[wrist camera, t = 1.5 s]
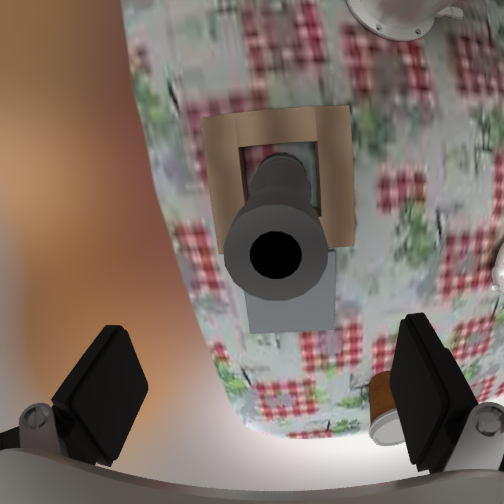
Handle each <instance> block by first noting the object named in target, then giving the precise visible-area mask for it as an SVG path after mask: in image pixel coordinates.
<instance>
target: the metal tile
mask: <svg viewBox="0 0 504 504" xmlns="http://www.w3.org/2000/svg"><path fill="white" fill-rule="evenodd" d="M244 292H245V291H244ZM245 299H246V306H247V314H248V321H249V328H250V334H252V333H282V332H303V331H320V330H334V317H335V249H334V250H328V264H327V267H326V269H325V271H324V273H323V275H322V277H321V279H320V281H319V282H318V283H317V284H316V285H315V286H314V287H312V288H311V289H310V290H309V291H308V292H306V293H305V294H304V295H301V296H298V297H295V298H293V299H290V300H287V301H266V300H263V299H261V298H258V297H255V296H252V295H250V294H248V293H247V292H245Z"/></svg>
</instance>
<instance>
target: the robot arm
mask: <svg viewBox="0 0 504 504" xmlns="http://www.w3.org/2000/svg"><path fill="white" fill-rule="evenodd" d="M457 1H458V0H346V2H347V5H348V7H349V9H350V10H351V12H352V14H353V15H354V16H355V17H356V19H357V20H358V21H359V22H360V23H361V24H362V25H363V26H364V27H366V28H367V29H369V30H370V31H371V32H373V33H375V34H377V35H379V36H381V37H383V38H386V39H389V40H393V41H404V42H407V41H412V40H416V39H418V38H420V37H422V36H424V35H425V34H426V33H428V32H429V31H430V29H431V28H432V26H433V24H434V20H435V17H440V18H441V17H443V16H447V17H449V18H453V19H458V20H462V18H463V11H462V9H461V8H459V7H455V6H451V5H452V4H453V3H455V2H457ZM376 28H378V29H379V30H377V29H376ZM416 32H417V34H416ZM389 385H390V389H391V393H392V396H393V399H394V403H395V406H396V409H397V413H398V416H399V420H400V423H401V427H402V431H403V434H404V438H405V442H406V446H407V450H408V454H409V457H410V461H411V463H412V464H413V465H414V464H416V466H417V469H418V472H420V471H424V470H428V469H429V472H430V474H428V475H424V476H418V477H412V478H408V479H402V480H397V481H391V482H385V483H378V484H371V485H363V486H355V487H347V488H337V489H325V490H310V491H245V490H227V489H216V488H206V487H197V486H190V485H182V484H176V483H169V482H163V481H158V480H153V479H147V478H143V477H138V476H133V475H129V474H125V473H121V472H117V471H113V470H109V469H105V468H101V467H98V466H95V464H96V462H97V463H98V464H101V465H105V466H108V467H111V465H112V463H113V461H114V460H116V459H117V458H118V457H119V454H120V452H121V450H122V448H123V445H124V443H125V441H126V438H127V436H128V434H129V432H130V430H131V427H132V425H133V423H134V421H135V418H136V416H137V414H138V412H139V410H140V407H141V405H142V403H143V401H144V399H145V396H146V394H147V392H148V382H147V380H146V377H145V375H144V373H143V370H142V368H141V365H140V363H139V360H138V358H137V355H136V353H135V350H134V347H133V345H132V342H131V339H130V337H129V334H128V332H127V331H126V330H124V328H123V327H122V326H120V325H106V326H105V327H104V328H103V330H102V331H101V332H100V333H99V335H98V336H97V337H96V339H95V340H94V341H93V343H92V344H91V345H90V346H89V348H88V349H87V350H86V352H85V353H84V354H83V356H82V357H81V358H80V360H79V361H78V362H77V364H76V365H75V367H74V368H73V370H72V371H71V372H70V374H69V375H68V376H67V378H66V379H65V380H64V382H63V383H62V385H61V386H60V387H59V389H58V391H57V392H56V393H55V395H54V396H53V397H52V399H51V401H52V402H53V404H54V405H53V406H52V408H51V407H50V406H49V405H48V404H45V403H36V404H33V405H31V406H29V407H28V408H26V409H25V410H24V411H23V412H22V414H21V416H20V418H19V426H18V427H15V428H13V429H10V430H8V431H5V432H2V433H0V504H504V407H503V406H501V405H499V404H497V403H493V402H483V403H481V404H478V402H477V400H476V398H475V396H474V394H473V392H472V390H471V388H470V386H469V384H468V383H467V381H466V379H465V377H464V375H463V373H462V371H461V370H460V368H459V366H458V364H457V362H456V361H455V359H454V357H453V355H452V354H451V352H450V351H449V349H447V348H444V346H443V344H442V342H441V341H440V339H439V337H438V336H437V334H436V332H435V330H434V329H433V327H432V325H431V324H430V322H429V320H428V319H427V317H426V316H425V314H424V313H415V314H407V315H406V317H405V319H402V320H401V322H400V327H399V333H398V338H397V344H396V349H395V354H394V359H393V364H392V369H391V373H390V378H389Z"/></svg>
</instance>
